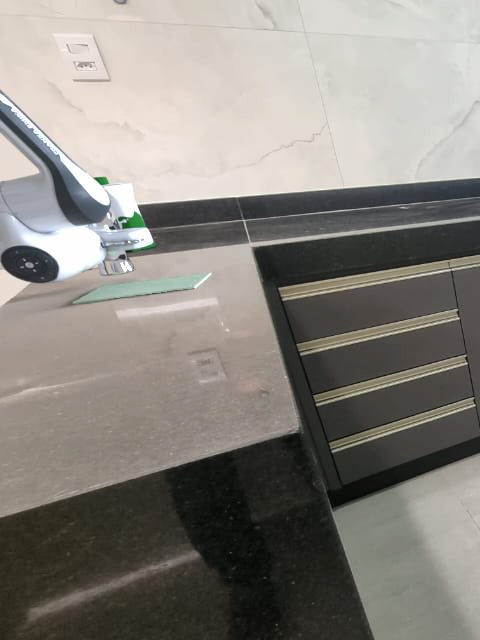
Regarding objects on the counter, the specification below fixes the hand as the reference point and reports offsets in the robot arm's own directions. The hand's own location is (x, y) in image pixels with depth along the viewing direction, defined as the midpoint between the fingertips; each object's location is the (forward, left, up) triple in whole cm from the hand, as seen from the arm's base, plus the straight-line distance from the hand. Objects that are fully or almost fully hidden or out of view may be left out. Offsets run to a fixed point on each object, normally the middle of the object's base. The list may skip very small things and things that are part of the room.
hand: (103, 236), depth 117 cm
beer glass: (0, -1, -8) cm, 8 cm away
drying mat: (+8, -13, -10) cm, 18 cm away
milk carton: (-12, +44, -10) cm, 47 cm away
